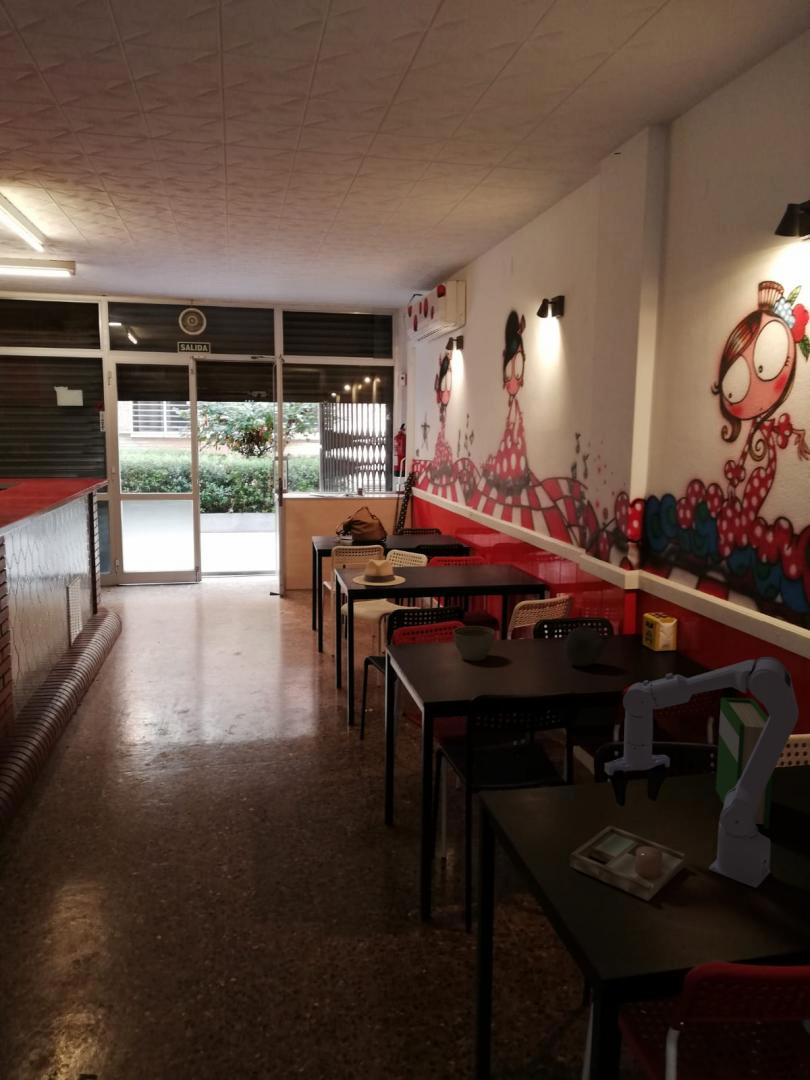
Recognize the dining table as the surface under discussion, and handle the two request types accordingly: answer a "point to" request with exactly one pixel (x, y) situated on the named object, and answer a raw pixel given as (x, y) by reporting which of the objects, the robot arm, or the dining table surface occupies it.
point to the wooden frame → (624, 861)
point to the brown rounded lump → (648, 862)
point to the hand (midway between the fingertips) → (636, 801)
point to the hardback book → (740, 748)
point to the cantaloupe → (583, 646)
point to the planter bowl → (473, 641)
